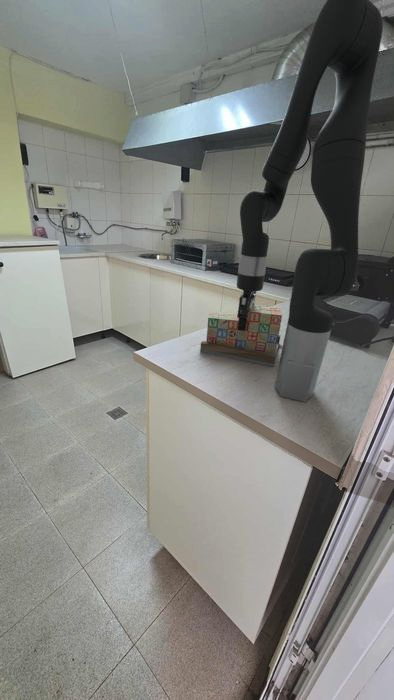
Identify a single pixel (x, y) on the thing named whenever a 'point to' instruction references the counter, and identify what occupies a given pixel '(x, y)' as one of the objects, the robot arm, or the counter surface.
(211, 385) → the counter surface
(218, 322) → the stack of blocks
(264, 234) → the robot arm
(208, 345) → the tray
